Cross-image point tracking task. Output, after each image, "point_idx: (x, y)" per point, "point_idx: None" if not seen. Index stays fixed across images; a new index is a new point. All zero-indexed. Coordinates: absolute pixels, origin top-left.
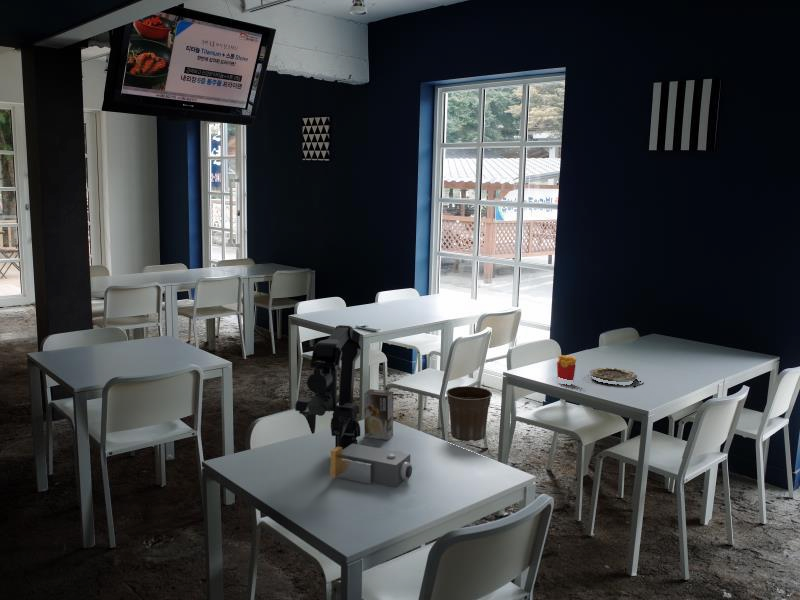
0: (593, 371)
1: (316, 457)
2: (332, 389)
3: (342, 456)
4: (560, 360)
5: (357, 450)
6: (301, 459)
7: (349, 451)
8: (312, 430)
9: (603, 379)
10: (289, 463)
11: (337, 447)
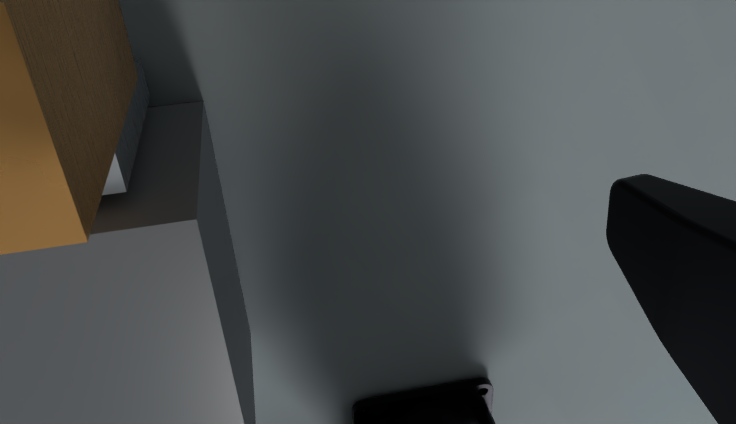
0: None
1: (565, 283)
2: None
3: (104, 219)
4: None
5: (64, 410)
6: None
7: (116, 347)
8: (668, 208)
9: None
10: (712, 84)
11: (49, 207)
